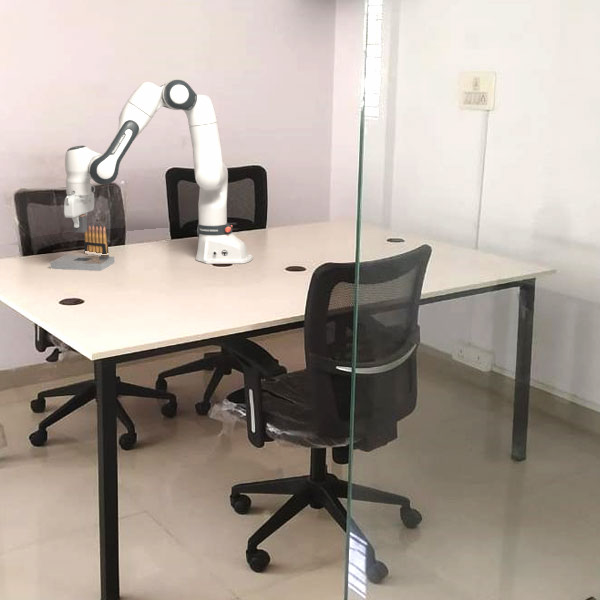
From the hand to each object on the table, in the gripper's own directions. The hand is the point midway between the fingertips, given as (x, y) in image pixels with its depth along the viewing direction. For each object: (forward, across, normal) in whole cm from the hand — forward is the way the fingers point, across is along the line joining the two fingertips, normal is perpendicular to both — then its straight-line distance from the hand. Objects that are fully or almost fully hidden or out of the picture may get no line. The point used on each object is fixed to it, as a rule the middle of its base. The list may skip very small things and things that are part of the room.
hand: (80, 226), depth 344 cm
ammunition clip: (+16, +21, +3) cm, 26 cm away
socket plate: (+15, 0, 0) cm, 15 cm away
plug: (+2, 0, 0) cm, 2 cm away
